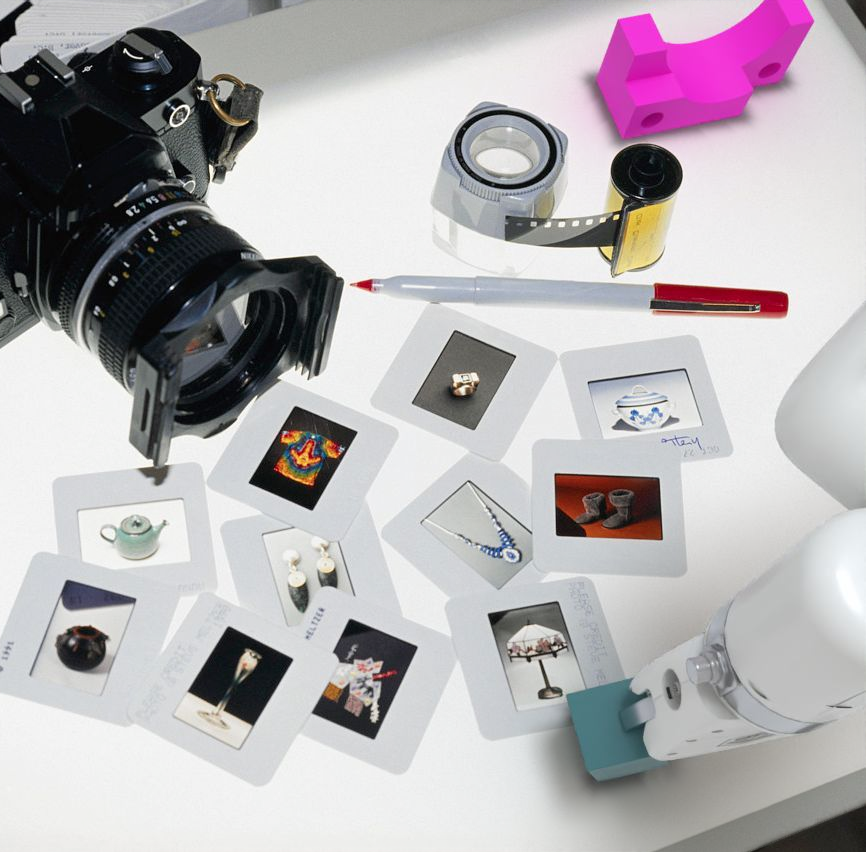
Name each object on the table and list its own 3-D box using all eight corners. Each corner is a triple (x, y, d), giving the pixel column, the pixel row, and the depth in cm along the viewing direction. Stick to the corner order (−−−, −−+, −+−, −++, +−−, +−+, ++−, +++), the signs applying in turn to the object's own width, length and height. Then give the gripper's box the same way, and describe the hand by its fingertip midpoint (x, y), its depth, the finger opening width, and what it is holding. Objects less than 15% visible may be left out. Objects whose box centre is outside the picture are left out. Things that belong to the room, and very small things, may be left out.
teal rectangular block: (647, 694, 80) (641, 675, 72) (669, 765, 78) (665, 753, 71) (578, 711, 80) (565, 694, 73) (598, 782, 79) (587, 771, 71)
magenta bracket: (621, 142, 100) (646, 80, 93) (594, 83, 102) (618, 19, 95) (790, 108, 101) (827, 45, 95) (760, 50, 104) (795, -15, 97)
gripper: (667, 758, 59) (579, 808, 76) (956, 701, 60) (807, 762, 77) (621, 609, 62) (546, 689, 79) (897, 558, 63) (766, 647, 80)
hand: (675, 725), depth 78 cm, fingers closed
